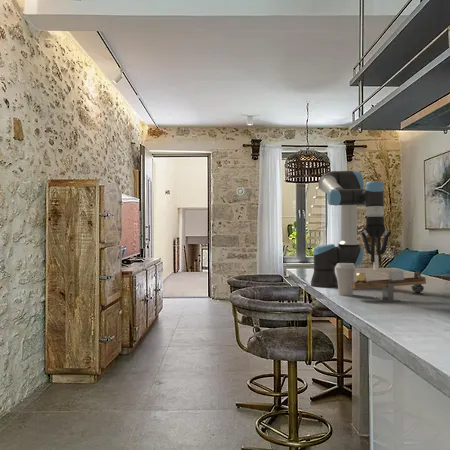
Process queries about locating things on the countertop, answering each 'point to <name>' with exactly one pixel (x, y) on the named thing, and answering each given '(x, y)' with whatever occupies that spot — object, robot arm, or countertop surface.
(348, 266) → the coffee cup
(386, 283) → the wooden tray
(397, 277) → the block
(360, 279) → the cylinder
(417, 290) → the salt shaker
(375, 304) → the countertop surface
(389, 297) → the fulcrum
